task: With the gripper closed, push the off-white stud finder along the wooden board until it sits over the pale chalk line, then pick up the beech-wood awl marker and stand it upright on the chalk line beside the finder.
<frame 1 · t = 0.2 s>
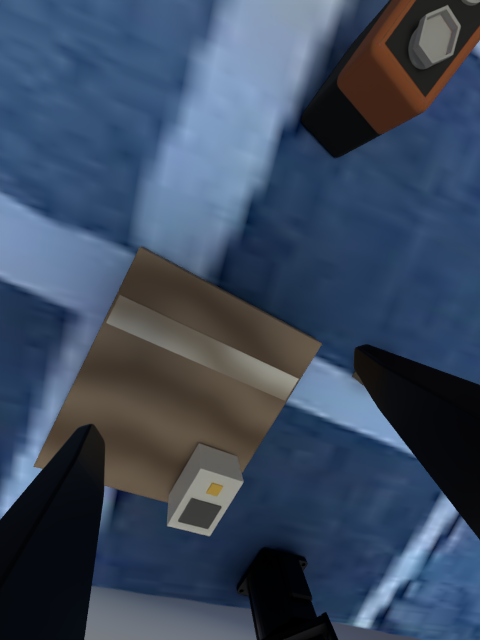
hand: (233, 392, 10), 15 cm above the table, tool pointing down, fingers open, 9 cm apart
stud finder: (204, 489, 25), point 3 cm above the table, slide at 0.0 cm
battery: (342, 105, 22), on the table
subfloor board: (183, 393, 26), on the table
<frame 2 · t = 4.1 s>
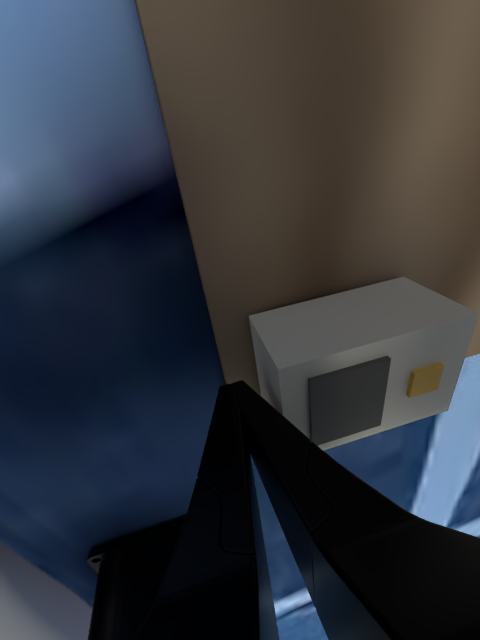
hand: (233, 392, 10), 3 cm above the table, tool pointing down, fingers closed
stud finder: (350, 364, 10), point 3 cm above the table, slide at 0.3 cm, touching gripper
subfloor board: (447, 172, 11), on the table
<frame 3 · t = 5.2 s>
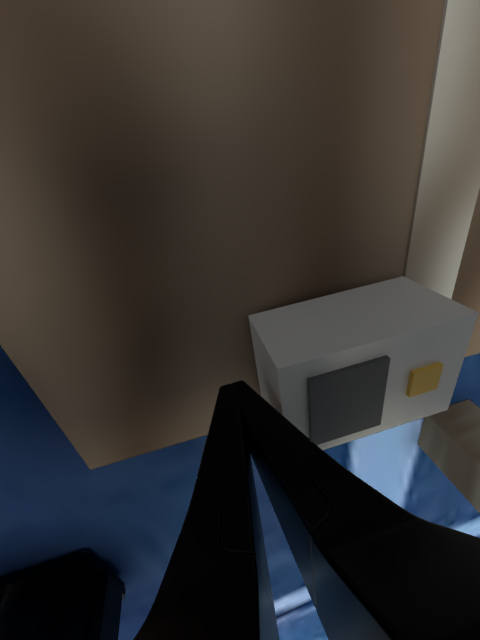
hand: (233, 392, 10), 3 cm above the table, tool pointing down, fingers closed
stud finder: (350, 364, 10), point 3 cm above the table, slide at 6.6 cm, touching gripper
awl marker: (442, 422, 20), on the table
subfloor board: (289, 204, 10), on the table
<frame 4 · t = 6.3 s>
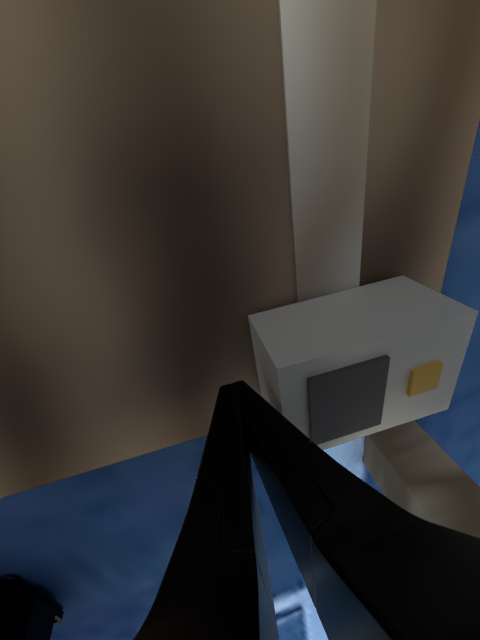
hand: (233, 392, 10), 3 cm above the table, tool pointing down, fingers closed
stud finder: (350, 363, 10), point 3 cm above the table, slide at 10.9 cm, touching gripper
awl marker: (386, 440, 19), on the table
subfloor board: (167, 229, 10), on the table
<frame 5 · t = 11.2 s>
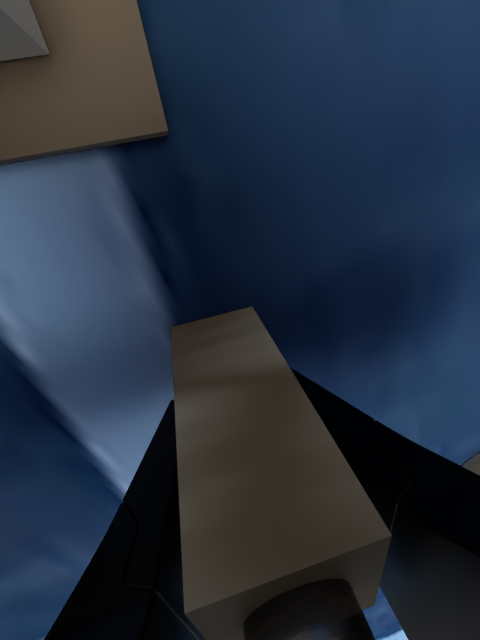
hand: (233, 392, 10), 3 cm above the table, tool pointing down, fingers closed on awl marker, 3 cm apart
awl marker: (220, 349, 12), on the table, touching gripper
when the fingers open (5 cm above the table, at t = 18.3 s): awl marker stays where it is, resting on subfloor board.
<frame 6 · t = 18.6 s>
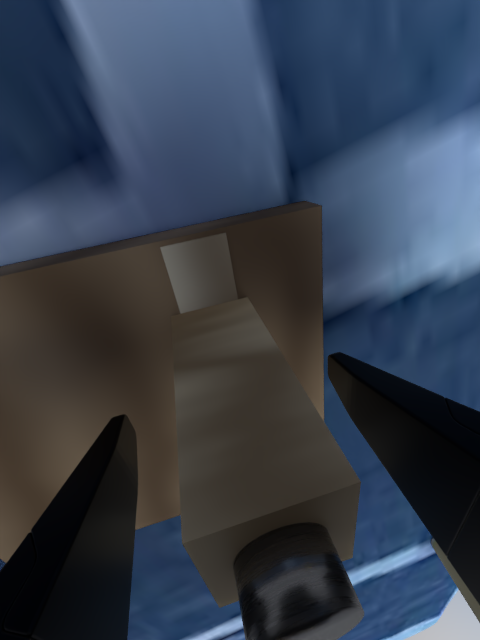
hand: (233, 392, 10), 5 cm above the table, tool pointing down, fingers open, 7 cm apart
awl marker: (217, 338, 12), point 2 cm above the table, touching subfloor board
coffee cup: (456, 528, 37), on the table
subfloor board: (136, 406, 15), on the table
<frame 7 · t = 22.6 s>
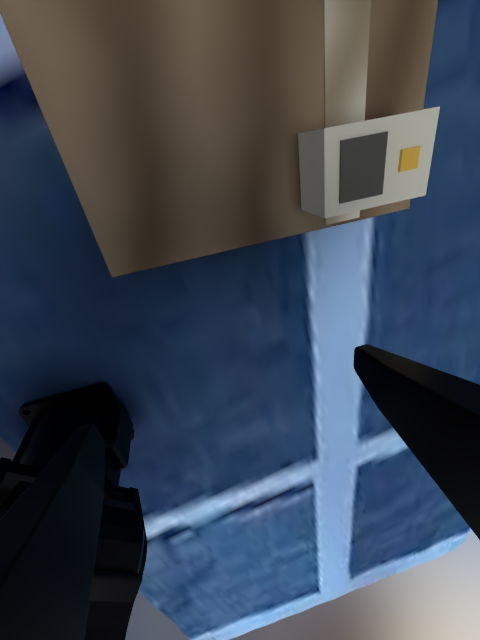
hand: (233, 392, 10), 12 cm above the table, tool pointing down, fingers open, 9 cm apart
stud finder: (362, 164, 16), point 3 cm above the table, slide at 11.1 cm
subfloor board: (244, 76, 15), on the table
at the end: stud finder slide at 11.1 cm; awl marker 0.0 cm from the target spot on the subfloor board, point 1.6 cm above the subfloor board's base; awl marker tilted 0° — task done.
